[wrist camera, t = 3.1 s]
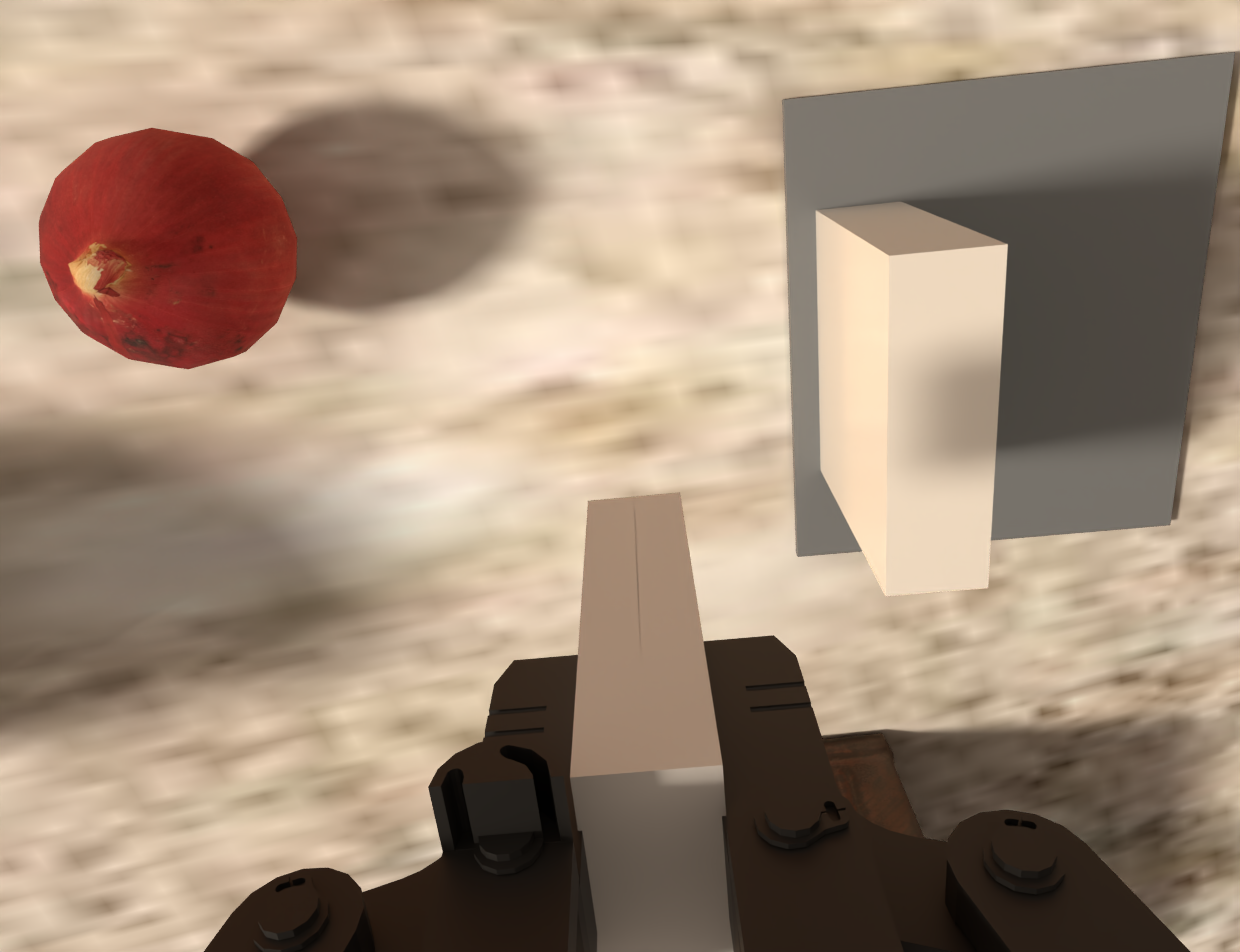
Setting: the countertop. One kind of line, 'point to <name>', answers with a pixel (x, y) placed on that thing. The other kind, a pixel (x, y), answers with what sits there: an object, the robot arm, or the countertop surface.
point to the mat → (1035, 269)
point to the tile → (911, 389)
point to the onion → (168, 248)
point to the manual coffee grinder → (872, 781)
